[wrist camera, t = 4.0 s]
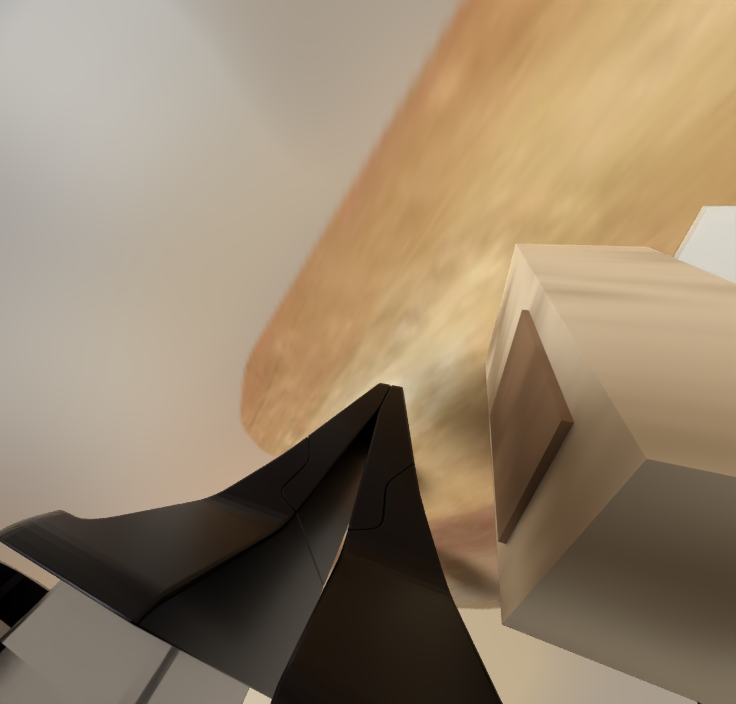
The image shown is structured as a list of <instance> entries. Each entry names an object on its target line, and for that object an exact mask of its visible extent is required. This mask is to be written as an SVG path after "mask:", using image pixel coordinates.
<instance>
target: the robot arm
mask: <svg viewBox="0 0 736 704" xmlns="http://www.w3.org/2000/svg"><path fill="white" fill-rule="evenodd" d="M349 522H350V523H349ZM348 525H349V527H348ZM347 527H348V532H347V534H346V538H345V541H344V545H343V548H342V551H341V554H340V556H339V558H338V561H337V563H336V565H335V567H334V569H333V571H332V573H331V575H330V577H329V579H328V581H327V583H326V585H325V587H324V589H323V585H324V584H325V582H326V579H327V577H328V574H329V572H330V569H331V567H332V564H333V562H334V559H335V557H336V554H337V552H338V549H339V547H340V545H341V542H342V540H343V537H344V535H345V532H346V530H347ZM0 542H2V543H3V544H5V545H6V546H8V547H10V548H11V549H13V550H14V551H16V552H18V553H19V554H21V555H22V556H24V557H25V558H27V559H29V560H30V561H32V562H33V563H35V564H37V565H38V566H40V567H41V568H43V569H45V570H46V571H48V572H49V573H51V574H52V575H54V576H56V577H57V578H59V579H60V581H59V582H58V583H57V584H56V585H55V586H54V587H53V588H52V589H51V590H50V589H48V588H47V587H45V586H44V585H42V584H41V583H39V582H38V581H36V580H34V579H33V578H31V577H29V576H27V575H26V574H24V573H22V572H20V571H19V570H17V569H15V568H13V567H12V566H10V565H8V564H6V563H4V562H2V561H0V704H242V703H243V701H244V699H245V696H246V694H247V692H248V690H249V687H250V688H252V689H254V690H256V691H258V692H260V693H262V694H264V695H266V696H267V697H269V698H271V699H272V701H271V704H503V703H502V701H501V699H500V698H499V695H498V693H497V691H496V689H495V687H494V685H493V683H492V680H491V678H490V676H489V674H488V672H487V670H486V668H485V666H484V664H483V662H482V659H481V658H480V655H479V653H478V651H477V649H476V647H475V645H474V643H473V641H472V639H471V636H470V634H469V632H468V630H467V628H466V626H465V624H464V622H463V620H462V618H461V616H460V613H459V611H458V609H457V607H456V605H455V603H454V601H453V598H452V596H451V593H450V591H449V588H448V585H447V583H446V580H445V577H444V574H443V571H442V568H441V564H440V561H439V558H438V555H437V551H436V548H435V545H434V541H433V538H432V535H431V531H430V528H429V525H428V521H427V518H426V515H425V511H424V507H423V503H422V499H421V496H420V491H419V486H418V481H417V475H416V468H415V462H414V456H413V450H412V443H411V437H410V430H409V424H408V417H407V411H406V404H405V398H404V392H403V388H402V387H400V386H394V385H392V386H390V385H389V384H383V383H379V384H377V385H376V386H375V387H373V388H372V389H371V390H369V391H368V392H367V393H365V394H364V395H363V396H361V397H360V398H359V399H357V400H356V401H355V402H353V403H352V404H351V405H349V406H348V407H347V408H345V409H344V410H342V411H341V412H340V413H338V414H337V415H336V416H334V417H333V418H332V419H330V420H329V421H328V422H326V423H325V424H324V425H322V426H321V427H320V428H318V429H317V430H316V431H314V432H313V433H312V434H310V435H309V436H308V437H306V438H305V439H303V440H302V441H301V442H299V443H298V444H296V445H295V446H294V447H292V448H291V449H289V450H288V451H287V452H285V453H284V454H282V455H281V456H279V457H277V458H276V459H274V460H273V461H271V462H270V463H268V464H266V465H265V466H263V467H262V468H260V469H258V470H257V471H255V472H253V473H252V474H250V475H248V476H247V477H245V478H243V479H242V480H240V481H239V482H237V483H235V484H234V485H232V486H230V487H229V488H227V489H225V490H223V491H222V492H219V493H217V494H215V495H213V496H210V497H208V498H204V499H201V500H197V501H192V502H187V503H182V504H177V505H172V506H166V507H162V508H157V509H151V510H146V511H141V512H135V513H131V514H125V515H120V516H115V517H108V518H100V519H82V518H78V517H75V516H74V515H71V514H70V513H67V512H65V511H62V510H57V511H53V512H50V513H46V514H42V515H38V516H34V517H31V518H28V519H25V520H22V521H20V522H17V523H15V524H12V525H10V526H8V527H6V528H4V529H2V530H0ZM322 589H323V591H322ZM321 592H322V594H321ZM320 594H321V596H320ZM319 597H320V598H319ZM318 599H319V600H318ZM697 703H698V704H701V703H699V702H697Z"/></svg>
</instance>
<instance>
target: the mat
mask: <svg viewBox="0 0 736 704" xmlns="http://www.w3.org/2000/svg"><path fill="white" fill-rule="evenodd" d="M673 258H676V259H678V260H681V261H683V262H685V263H688V264H690V265H692V266H695V267H697V268H700V269H702V270H704V271H707V272H709V273H712V274H714V275H716V276H719V277H721V278H724V279H726V280H728V281H731V282H733V283H735V284H736V206H703V207H702V209H701V210H700V212H699V214H698V216H697V217H696V219H695V221H694V222H693V224H692V226H691V228H690V229H689V231H688V233H687V235H686V236H685V238H684V240H683V242H682V243H681V245H680V247H679V249H678V250H677V252H676V254H675V255H674V257H673Z"/></svg>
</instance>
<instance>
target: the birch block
mask: <svg viewBox="0 0 736 704" xmlns="http://www.w3.org/2000/svg"><path fill="white" fill-rule="evenodd" d="M485 365H486V381H487V397H488V413H489V429H490V444H491V460H492V476H493V492H494V508H495V524H496V540H497V556H498V571H499V587H500V603H501V618H502V625H504V626H507V627H509V628H512V629H515V630H517V631H520V632H522V633H525V634H527V635H530V636H532V637H535V638H537V639H540V640H542V641H545V642H547V643H550V644H553V645H555V646H558V647H560V648H563V649H565V650H568V651H570V652H573V653H575V654H578V655H580V656H583V657H585V658H588V659H590V660H593V661H595V662H598V663H600V664H603V665H606V666H608V667H611V668H613V669H616V670H618V671H621V672H623V673H626V674H628V675H631V676H633V677H636V678H638V679H641V680H643V681H646V682H648V683H651V684H654V685H656V686H659V687H661V688H664V689H666V690H669V691H671V692H674V693H676V694H679V695H681V696H684V697H687V698H689V699H691V700H694V701H696V702H699V703H701V704H736V284H735V283H733V282H731V281H728V280H726V279H724V278H721V277H719V276H716V275H714V274H712V273H709V272H707V271H704V270H702V269H700V268H697V267H695V266H692V265H690V264H688V263H685V262H683V261H681V260H678V259H676V258H673V257H671V256H669V255H666V254H664V253H661V252H659V251H657V250H654V249H652V248H649V247H636V246H595V245H554V244H516V245H515V249H514V253H513V257H512V261H511V265H510V269H509V273H508V277H507V281H506V284H505V288H504V292H503V296H502V300H501V304H500V308H499V312H498V316H497V320H496V324H495V328H494V332H493V336H492V340H491V344H490V348H489V352H488V356H487V360H486V364H485Z"/></svg>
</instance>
